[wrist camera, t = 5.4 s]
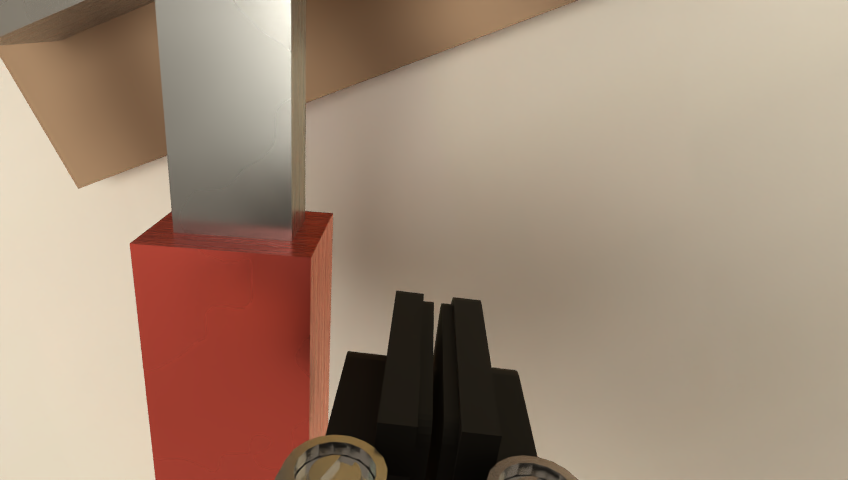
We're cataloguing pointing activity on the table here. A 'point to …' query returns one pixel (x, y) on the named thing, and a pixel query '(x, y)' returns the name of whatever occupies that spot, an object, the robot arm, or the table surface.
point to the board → (141, 77)
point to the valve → (57, 18)
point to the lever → (234, 248)
